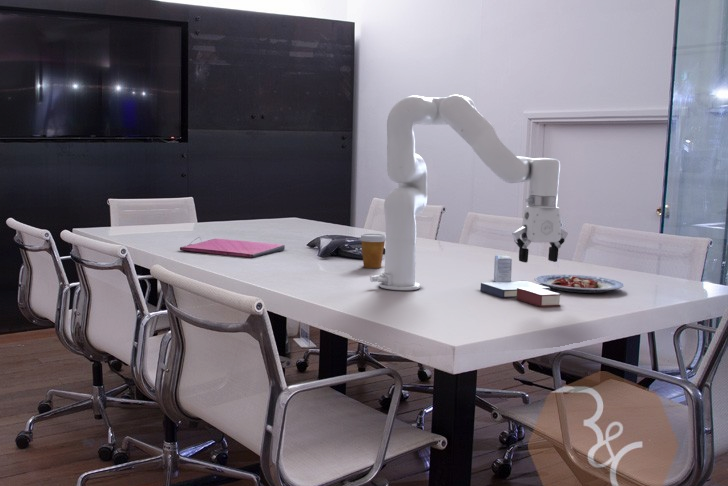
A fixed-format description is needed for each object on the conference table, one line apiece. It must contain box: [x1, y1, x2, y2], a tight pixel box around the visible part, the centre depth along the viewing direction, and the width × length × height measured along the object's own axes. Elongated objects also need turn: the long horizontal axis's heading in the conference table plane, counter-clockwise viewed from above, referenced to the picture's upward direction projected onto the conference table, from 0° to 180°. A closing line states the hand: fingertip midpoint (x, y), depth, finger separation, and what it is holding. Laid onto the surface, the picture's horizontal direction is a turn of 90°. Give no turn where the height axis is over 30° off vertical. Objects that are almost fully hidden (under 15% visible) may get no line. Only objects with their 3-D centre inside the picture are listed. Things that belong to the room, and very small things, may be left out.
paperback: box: [516, 287, 561, 308], centre depth 220 cm, size 6×11×4 cm, turn 14°
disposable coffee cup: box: [359, 233, 386, 269], centre depth 283 cm, size 10×10×12 cm
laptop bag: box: [179, 236, 286, 259], centre depth 327 cm, size 40×4×27 cm
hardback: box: [480, 280, 551, 299], centre depth 234 cm, size 16×12×2 cm
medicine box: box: [493, 254, 513, 282], centre depth 252 cm, size 8×4×9 cm, turn 168°
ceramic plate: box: [534, 274, 625, 294], centre depth 243 cm, size 26×26×3 cm
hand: (537, 261), depth 219 cm, fingers open, 9 cm apart
